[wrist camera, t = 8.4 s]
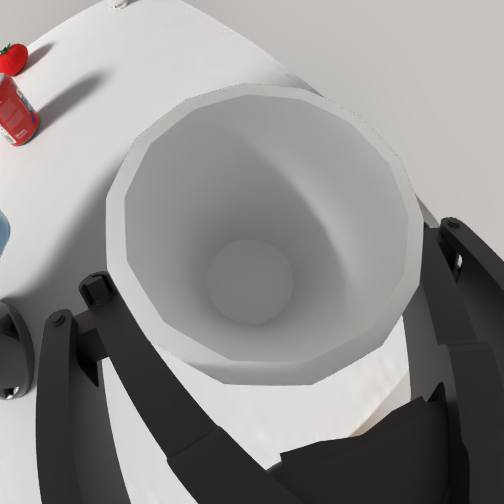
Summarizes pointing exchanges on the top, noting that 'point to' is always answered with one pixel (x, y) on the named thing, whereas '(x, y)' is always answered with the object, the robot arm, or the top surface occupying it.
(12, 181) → the top surface
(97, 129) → the top surface
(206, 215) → the foam cup
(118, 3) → the beer glass
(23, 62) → the tomato
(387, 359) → the top surface
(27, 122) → the soda can
